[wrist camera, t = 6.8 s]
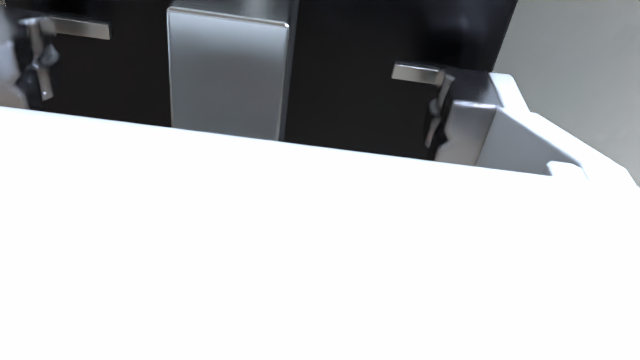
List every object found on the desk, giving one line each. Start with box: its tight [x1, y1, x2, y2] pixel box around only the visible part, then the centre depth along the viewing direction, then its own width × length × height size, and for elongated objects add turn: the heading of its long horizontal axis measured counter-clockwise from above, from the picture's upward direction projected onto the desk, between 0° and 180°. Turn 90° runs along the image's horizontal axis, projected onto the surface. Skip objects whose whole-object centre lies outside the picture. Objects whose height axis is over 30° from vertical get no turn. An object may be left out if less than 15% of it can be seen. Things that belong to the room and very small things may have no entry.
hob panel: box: [5, 0, 518, 160], centre depth 14 cm, size 11×9×3 cm
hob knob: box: [166, 0, 299, 142], centre depth 11 cm, size 5×2×4 cm, turn 172°
